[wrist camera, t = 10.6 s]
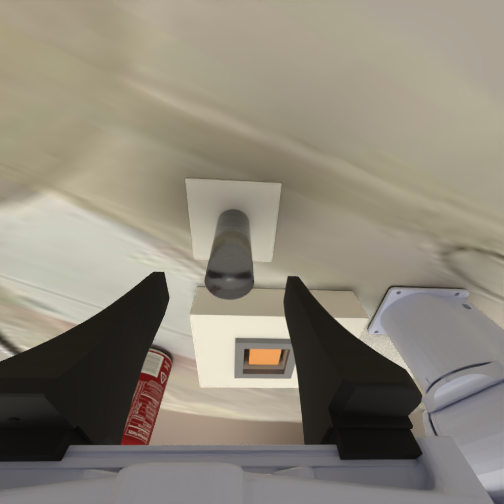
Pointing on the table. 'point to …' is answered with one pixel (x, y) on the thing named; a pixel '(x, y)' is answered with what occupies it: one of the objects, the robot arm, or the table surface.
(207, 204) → the mat
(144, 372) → the soda can
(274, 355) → the button
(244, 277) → the gray metal cylinder
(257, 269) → the table surface
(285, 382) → the box
